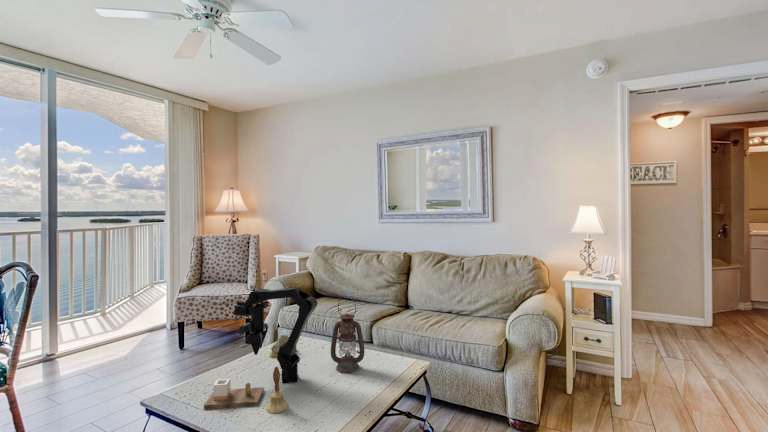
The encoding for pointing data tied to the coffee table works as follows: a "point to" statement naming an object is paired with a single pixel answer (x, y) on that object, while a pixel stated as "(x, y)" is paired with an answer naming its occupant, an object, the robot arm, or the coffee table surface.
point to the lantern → (347, 343)
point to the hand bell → (277, 396)
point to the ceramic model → (278, 346)
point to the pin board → (237, 398)
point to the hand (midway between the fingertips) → (258, 350)
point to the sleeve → (221, 389)
